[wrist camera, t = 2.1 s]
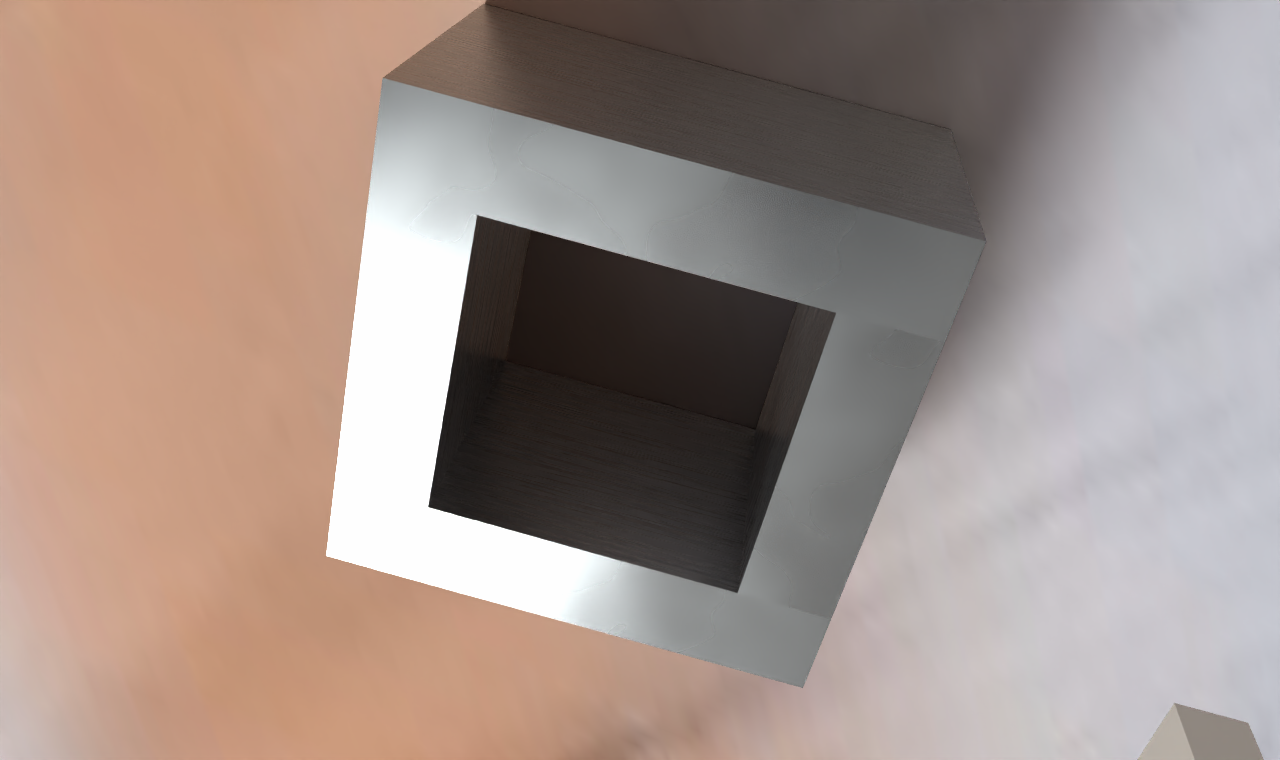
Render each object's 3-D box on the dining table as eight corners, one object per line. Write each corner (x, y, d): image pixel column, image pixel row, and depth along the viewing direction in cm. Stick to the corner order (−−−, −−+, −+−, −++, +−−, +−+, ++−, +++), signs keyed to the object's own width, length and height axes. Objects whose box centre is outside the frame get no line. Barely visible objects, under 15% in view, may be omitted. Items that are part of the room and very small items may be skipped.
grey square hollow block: (950, 129, 19) (985, 241, 15) (808, 511, 23) (802, 687, 19) (483, 3, 19) (382, 77, 15) (420, 404, 23) (326, 555, 19)
